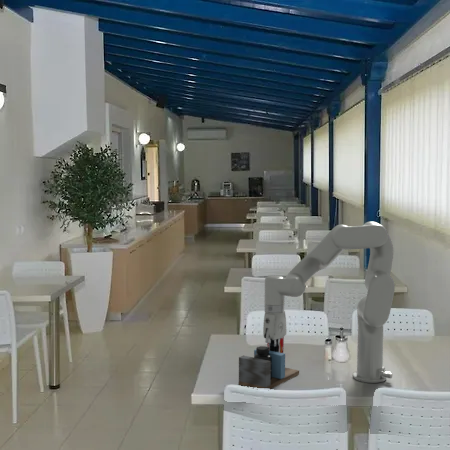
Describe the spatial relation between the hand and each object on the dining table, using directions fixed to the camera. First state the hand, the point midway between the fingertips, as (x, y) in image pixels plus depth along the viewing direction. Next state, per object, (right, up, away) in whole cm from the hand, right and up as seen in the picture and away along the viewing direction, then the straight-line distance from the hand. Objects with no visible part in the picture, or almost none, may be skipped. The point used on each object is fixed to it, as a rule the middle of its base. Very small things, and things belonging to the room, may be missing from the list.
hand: (274, 355), depth 256 cm
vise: (-2, -9, -2) cm, 9 cm away
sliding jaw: (-2, -7, -2) cm, 8 cm away
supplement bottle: (-5, -8, -6) cm, 11 cm away
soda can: (+3, -6, +32) cm, 32 cm away
